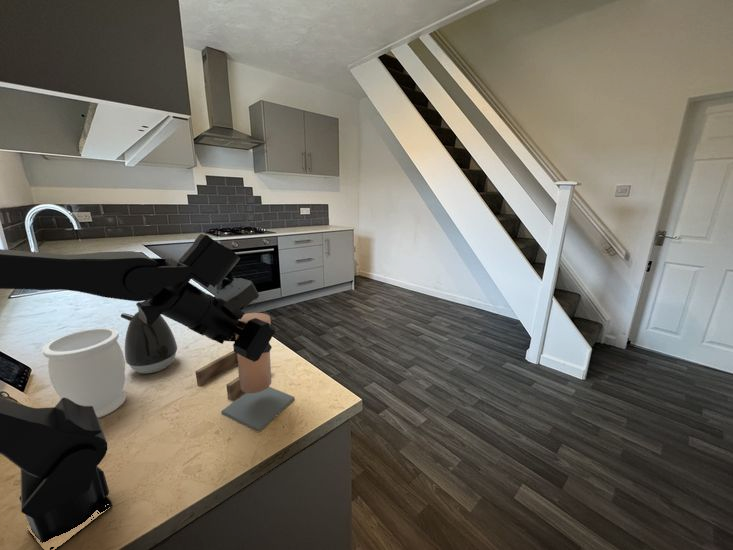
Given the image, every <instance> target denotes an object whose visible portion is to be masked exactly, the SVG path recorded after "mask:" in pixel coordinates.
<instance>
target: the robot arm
mask: <svg viewBox="0 0 733 550" xmlns="http://www.w3.org/2000/svg"><path fill="white" fill-rule="evenodd" d="M240 260H241V257H240V256H239V255H238V254H237V253H236V252H234V251H233V250H232V249H231V248H229V247H227V246H225V245H223V244H222V243H220V242H218V241H217V240H215V239H213V238H212V237H210V236H209V235H207V234H205V233H200V234H199V235H198V236H197V237H196V238H195V240H194V242H193V243H192V245H191V246H190V247H189V248H188V249H187V251H186V252H185V253H184V254H183V255H182V256H181V257H180V258H179V259H178V260H177V259H175V258H172V257H171V258H169V257H166V258H165V257H163V258H162V257H157V258H155V257H149V256H148V255H145V254H143V253H141V252H137V251H133V250H130V251H129V250H127V251H126V250H123V251H121V250H120V251H100V252H99V251H97V252H90V253H89V252H88V253H79V254H77V253H76V254H74V253H73V254H59V253H51V252H50V253H48V252H36V251H35V252H34V251H23V250H14V249H13V250H11V249H0V290H45V291H46V290H51V291H53V290H55V291H56V290H58V291H61V290H62V291H64V290H65V291H72V292H78V293H82V294H83V293H84V294H88V295H92V296H97V297H102V298H107V299H115V300H122V301H129V302H130V301H131V302H136V303H135V304H136V307H137V308H138V310H137V312H138V316H139V318H140V319H141V320H143V321H144V322H145V323H146V324H147V325H152V324H153V323H154V322H155V321H156V320H157V319H158V317H159V316H160V315H161V316H164V317H166V318H168V319H170V320H172V321H174V322H176V323H179V324H181V325H182V326H185V327H187V328H188V329H190V330H191V331H193V332H194V333H197V334H199V335H201V336H203V337H204V336H205V337H206V338H208V339H210V340H212V341H214V342H217V343H220V344H221V345H223V344H224V342H233V344H232V346H233V347H232V348H233V351H234V352H235V353H237V354H239V355H241V356H243V357H245V358H247V359H249V360H251V361H253V362H255V361H257V360H259V358H260V357H261V355H262V353H266V352H269V351H270V352H271V349H272V345H271V344H270V341H271V340H272V338H273V337H274V335H275V333H276V327H275V326H273V325H272V324H269V323H267V322H264V321H262V320H259V319H257V318H254V319H251V320H249V321H248V322H247V323H244V322H242V321H239V319H241V318H242V317H243V315H244V314H246V313H245V312H244V311H242V310H244V309H245V308H246V307H247V306H248V305H250V304H251V303H252V302H254V301H255V300H257V299H258V298H259V296H260V294H259V292H258V290H257V289H256V287H255V285H254V283H253V280H249V279H246V278H245V279H244V278H241V277H238V278H236V277H233V278H232V280H231V279H229V278H228V277H227V276H228V275H229V273H230V272H231V271H232V269H233V268H234V267H235V266H236V264H238V263H239V261H240ZM191 280H193V281H195V283H198V284H199V285H201V286H202V287H204V288H206V289H208V288H210V286H211V287H213V288H216V295H212V294H210V293H207V292H206V291H203V290H202V289H200V288H198V287H197V286H196V285H194V284H193V283H190V281H191ZM237 326H238V327H240V328H243V330H242V329H240V328H237ZM235 334H237V335H239V336H238V338H237V339H236V336H235ZM107 451H108V442H107V438H106V436H105V433H104V430H103V427H102V425H101V422H100V418H98V417H97V416H96V414H95V411H94V408H93V406H82V405H78V404H76V403H74V402H73V401H71V400H69V399H67V398H62V399H60V400H59V401H58V402H57V403H56V404H55V406H53V407H51V406H50V407H40V408H37V407H32V406H28V405H24V404H21V403H18V402H16V401H12V400H9V399H6V398H2V397H0V455H2V456H3V457H5V458H6V459H8V460H9V461H10V463H11V462H12V463H13V464H14V465H15V466H16V467H17V468H19V469H20V496H19V501H20V504H21V505H20V507H21V508H20V510H21V513H22V514H24V515H25V517H26V519H27V521H28V522H27V523H28V524H29V525H30V527H31V530H32V532H33V533H34V534H35V536H36V537H37V538H38V539H39V540H40V542H42V543H43V542H46V541H48V540H49V539H51V538H53V537H55V536H59V535H61V534H63V533H66V532H68V531H70V530H71V529H73V528H75V527H77V526H78V525H80V524H82V523H83V522H85V521H86V520H87V519H88V518H89V517H91V515H92V514H93V513H94V512H95V511H96V510H98V511H99V512H100V513H101V512H103V511H105V510H106V509H108V508H109V507H111V505H112V506H113V503H112V501H111V500H110V499H109V498H108V497H107V496H108V495H109V493H110V490H109V487H108V483H107V479H106V475H105V472H104V470H103V469H102V468H100V467H99V466H98V465H100V463H101V462H102V461H103V459H104V458H105V457H106V454H107ZM107 504H109V505H108V506H106V507H105V505H107ZM111 508H112V507H111ZM97 513H98V512H97ZM98 514H99V513H98ZM92 516H93V515H92ZM93 518H94V517H93ZM91 520H92V519H91Z"/></svg>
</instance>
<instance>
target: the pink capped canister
mask: <svg viewBox="0 0 733 550" xmlns="http://www.w3.org/2000/svg"><path fill="white" fill-rule="evenodd" d="M254 318H257V319H259V320H262V321H264V322H267V323H269V324H271V322H272V321H271V316H270V315H269V314H266V313H262V312H250V313H245V314H244V315H243V317H242V318H241V319H239V321H242V322H244V323H247V322H248V321H249V320H251V319H254ZM271 325H272V324H271ZM237 328H240V327H238V326H237ZM240 329H242V330H243V328H240ZM235 336H236V339H237V338H238V336H239V335H237V334H235ZM237 360H238V364H237V368H238V369H237V371H238V372H237V373H238V377H239V383H240V389H241V390H242V391H243V392H242V393H244V394H245V393H257V392H261V391H263V390H265V389H267V388H268V387H271V384H272V368H271V367H272V366H271V365H272V364H271V350H270V351H269V352H266V353H262V355H261V357H260V358H259V360H257V361H255V362H253V361H251V360H249V359H247V358H245V357H243V356H241V355H239V354H237Z"/></svg>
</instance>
